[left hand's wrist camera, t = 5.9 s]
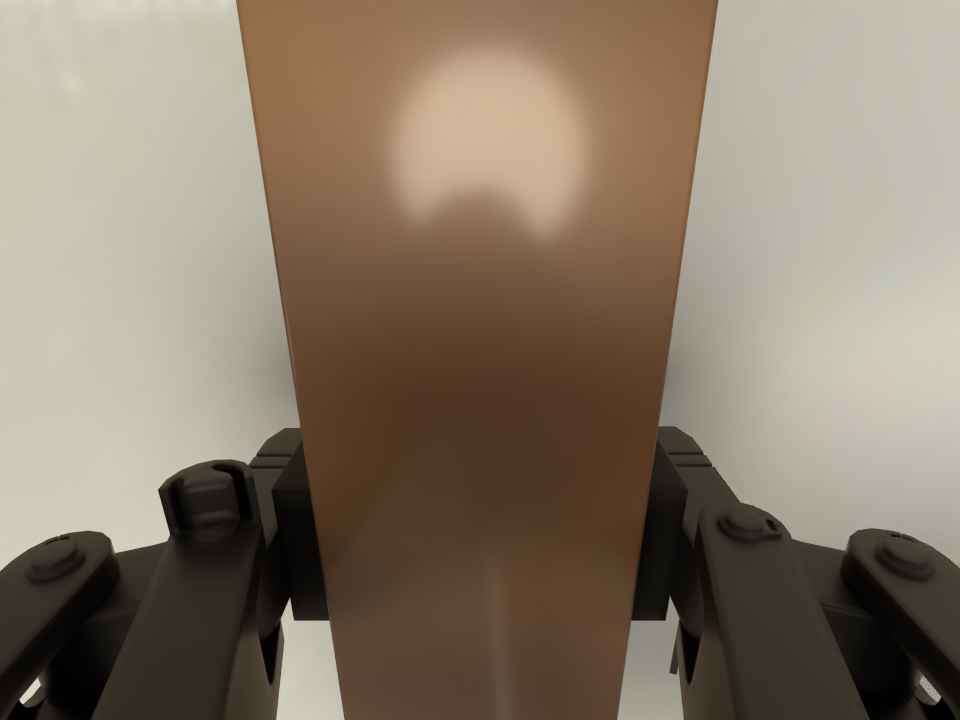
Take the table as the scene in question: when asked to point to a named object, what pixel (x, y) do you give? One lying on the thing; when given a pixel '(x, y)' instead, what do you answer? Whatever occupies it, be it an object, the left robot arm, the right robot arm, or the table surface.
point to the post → (478, 326)
